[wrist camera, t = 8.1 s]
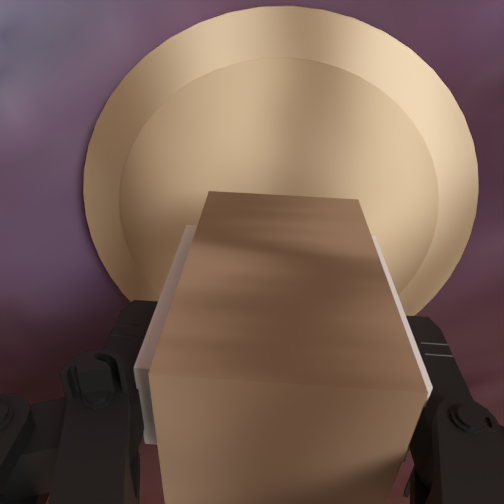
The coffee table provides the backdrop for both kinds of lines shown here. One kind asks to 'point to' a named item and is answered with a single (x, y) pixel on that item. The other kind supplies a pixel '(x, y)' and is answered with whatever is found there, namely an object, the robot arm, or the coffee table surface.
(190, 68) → the plate
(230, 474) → the block
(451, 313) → the coffee table surface
